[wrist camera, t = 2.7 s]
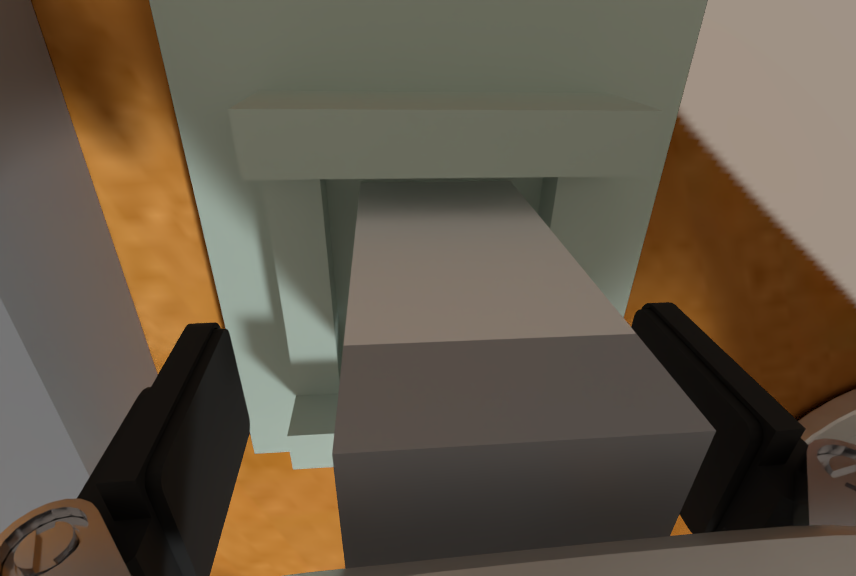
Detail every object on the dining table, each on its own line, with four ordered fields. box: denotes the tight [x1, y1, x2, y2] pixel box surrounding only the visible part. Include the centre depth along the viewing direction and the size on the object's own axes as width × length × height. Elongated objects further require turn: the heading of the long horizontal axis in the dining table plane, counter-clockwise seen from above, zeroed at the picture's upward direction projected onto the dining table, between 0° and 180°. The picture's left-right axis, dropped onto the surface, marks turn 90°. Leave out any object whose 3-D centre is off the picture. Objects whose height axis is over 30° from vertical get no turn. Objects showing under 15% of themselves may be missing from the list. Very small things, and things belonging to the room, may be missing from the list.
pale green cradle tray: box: [149, 0, 708, 469], centre depth 14 cm, size 14×16×4 cm
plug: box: [332, 181, 716, 569], centre depth 11 cm, size 4×6×10 cm
